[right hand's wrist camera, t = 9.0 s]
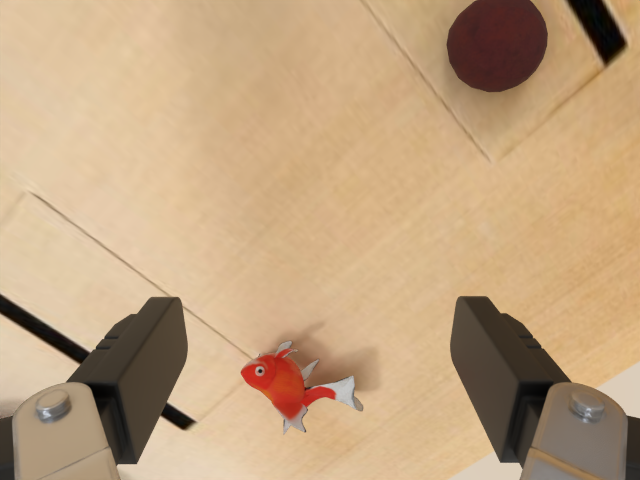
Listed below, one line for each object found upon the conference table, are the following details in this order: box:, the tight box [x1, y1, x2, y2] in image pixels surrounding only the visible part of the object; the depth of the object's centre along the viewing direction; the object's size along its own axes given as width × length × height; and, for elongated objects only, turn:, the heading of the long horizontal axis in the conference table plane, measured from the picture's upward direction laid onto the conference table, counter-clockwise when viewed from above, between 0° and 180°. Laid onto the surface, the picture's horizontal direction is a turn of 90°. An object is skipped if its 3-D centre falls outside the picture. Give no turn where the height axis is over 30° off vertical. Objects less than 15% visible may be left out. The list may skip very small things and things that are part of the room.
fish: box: [241, 341, 363, 434], centre depth 45 cm, size 11×16×10 cm
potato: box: [447, 0, 548, 92], centre depth 33 cm, size 7×8×7 cm
